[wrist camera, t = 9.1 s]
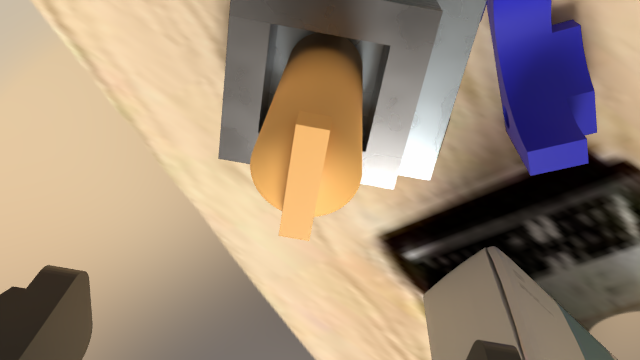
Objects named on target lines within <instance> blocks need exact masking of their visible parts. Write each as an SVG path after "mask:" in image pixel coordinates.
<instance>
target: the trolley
mask: <svg viewBox="0 0 640 360" xmlns="http://www.w3.org/2000/svg"><path fill="white" fill-rule="evenodd" d="M486 4H487V0H231V1H230V14H229V28H228V41H227V54H226V67H225V80H224V93H223V107H222V120H221V133H220V146H219V159H224V160H229V161H235V162H241V163H246V164H250V160H251V155H252V152H253V149H254V146H255V144H256V141H257V139H258V136H259V133H260V131H261V128H262V126H263V123H264V121H265V118H266V115H267V113H268V110H269V108H270V105H271V103H272V100H273V98H274V95H275V92H276V90H277V87H278V85H279V82H280V80H281V77H282V74H283V72H284V69H285V67H286V64H287V62H288V59H289V57H290V54H291V52H292V50H293V48H294V47H295V45H296V44H297V43H298V42H299V41H300V40H301V39H303V38H304V37H306V36H308V35H310V34H313V33H316V32H319V33H324V34H330V35H335V36H341V37H345V38H347V39H348V40H349V41H350V42H352V43H353V45H354V46H355V47H356V48H357V50H358V52H359V54H360V56H361V60H362V66H363V91H362V178H361V182H360V184H364V185H370V186H376V187H381V188H387V189H393V190H394V186H395V183H396V179H397V176H398V175H401V176H407V177H413V178H418V179H424V180H430V178H431V175H432V172H433V169H434V166H435V163H436V159H437V158H438V156H439V153H440V149H441V146H442V143H443V140H444V137H445V134H446V130H447V127H448V124H449V121H450V115H451V112H452V109H453V105H454V102H455V99H456V96H457V93H458V89H459V86H460V83H461V80H462V77H463V74H464V70H465V67H466V64H467V61H468V58H469V54H470V51H471V48H472V45H473V42H474V39H475V35H476V32H477V29H478V26H479V23H480V22H481V19H482V16H483V13H484V10H485V7H486Z"/></svg>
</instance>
